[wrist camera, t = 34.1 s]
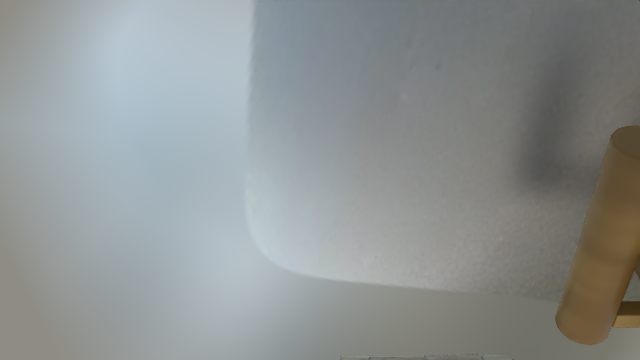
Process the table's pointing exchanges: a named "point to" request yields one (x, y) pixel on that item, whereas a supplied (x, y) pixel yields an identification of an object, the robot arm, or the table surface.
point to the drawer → (606, 249)
